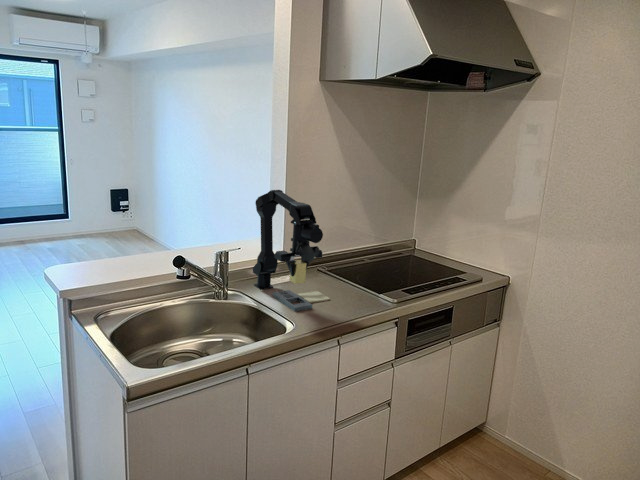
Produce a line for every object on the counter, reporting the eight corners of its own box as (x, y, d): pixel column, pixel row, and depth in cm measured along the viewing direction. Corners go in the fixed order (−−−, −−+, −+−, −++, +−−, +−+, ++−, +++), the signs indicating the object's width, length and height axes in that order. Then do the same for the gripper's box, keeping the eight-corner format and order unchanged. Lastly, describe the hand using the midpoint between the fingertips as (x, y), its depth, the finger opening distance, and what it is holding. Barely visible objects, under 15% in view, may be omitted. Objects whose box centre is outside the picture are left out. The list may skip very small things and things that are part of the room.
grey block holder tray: (272, 296, 203) (272, 292, 203) (289, 293, 208) (289, 289, 207) (294, 311, 189) (294, 307, 189) (312, 308, 193) (312, 304, 193)
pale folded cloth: (296, 295, 206) (297, 293, 206) (316, 291, 212) (316, 290, 212) (309, 303, 198) (309, 302, 198) (329, 299, 204) (330, 298, 204)
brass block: (289, 280, 194) (290, 261, 192) (299, 279, 197) (300, 259, 195) (295, 284, 190) (296, 264, 189) (305, 282, 193) (306, 263, 191)
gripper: (289, 244, 178) (287, 284, 181) (331, 240, 188) (328, 278, 192) (274, 236, 186) (272, 275, 190) (316, 233, 197) (313, 270, 201)
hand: (297, 275), depth 193 cm, fingers closed on brass block, 4 cm apart
